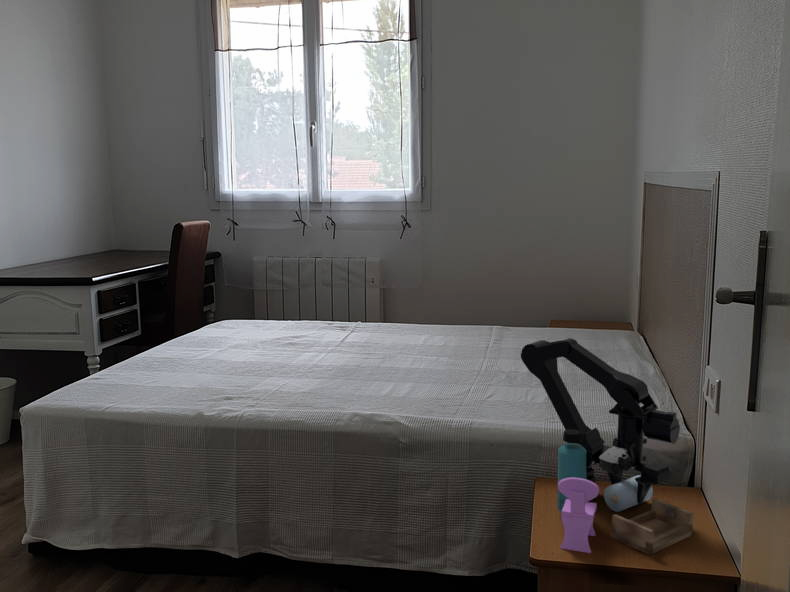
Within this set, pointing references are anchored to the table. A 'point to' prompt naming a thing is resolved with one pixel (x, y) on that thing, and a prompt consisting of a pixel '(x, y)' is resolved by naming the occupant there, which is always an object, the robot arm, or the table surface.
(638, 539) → the holder
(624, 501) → the roll
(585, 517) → the toy chair
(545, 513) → the table surface
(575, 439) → the beverage bottle
